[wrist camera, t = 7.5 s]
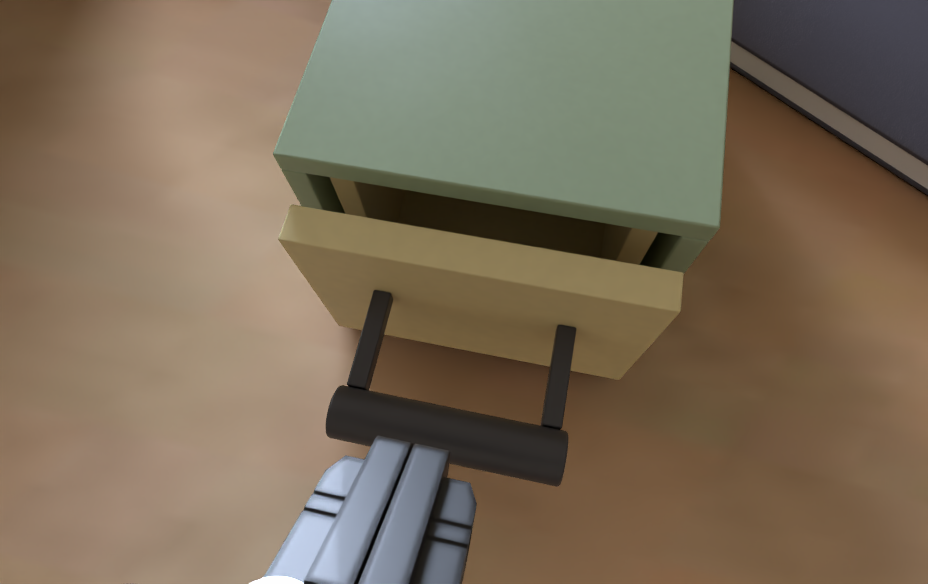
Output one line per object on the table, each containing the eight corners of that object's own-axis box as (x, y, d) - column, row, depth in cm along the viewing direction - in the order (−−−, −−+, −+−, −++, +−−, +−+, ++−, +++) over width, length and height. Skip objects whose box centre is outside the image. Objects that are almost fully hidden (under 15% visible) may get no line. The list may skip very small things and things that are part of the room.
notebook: (1165, 93, 28) (781, -112, 34) (1202, 69, 27) (794, -141, 33) (1038, 269, 25) (640, 9, 31) (1072, 252, 24) (648, -16, 30)
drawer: (604, 509, 22) (665, 498, 14) (303, 443, 23) (218, 402, 15) (652, 102, 28) (710, -47, 21) (416, 68, 29) (393, -84, 22)
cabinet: (635, 337, 25) (720, 228, 16) (343, 282, 26) (271, 154, 17) (665, 63, 30) (742, -134, 21) (421, 29, 31) (396, -170, 22)
